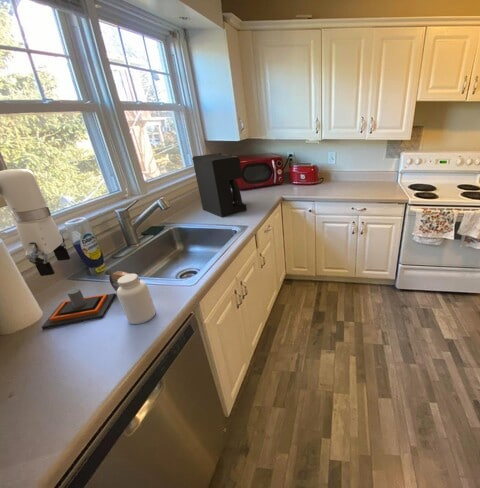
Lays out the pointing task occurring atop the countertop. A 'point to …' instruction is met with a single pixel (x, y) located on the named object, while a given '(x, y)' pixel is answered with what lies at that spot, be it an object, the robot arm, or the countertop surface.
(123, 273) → the tin
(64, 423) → the countertop surface
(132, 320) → the pill bottle
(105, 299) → the base pad
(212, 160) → the coffee maker
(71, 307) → the stud pad
